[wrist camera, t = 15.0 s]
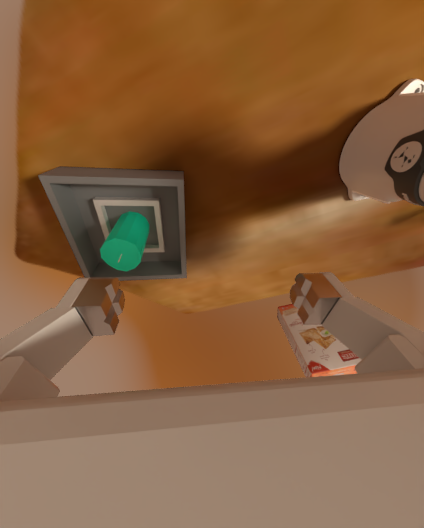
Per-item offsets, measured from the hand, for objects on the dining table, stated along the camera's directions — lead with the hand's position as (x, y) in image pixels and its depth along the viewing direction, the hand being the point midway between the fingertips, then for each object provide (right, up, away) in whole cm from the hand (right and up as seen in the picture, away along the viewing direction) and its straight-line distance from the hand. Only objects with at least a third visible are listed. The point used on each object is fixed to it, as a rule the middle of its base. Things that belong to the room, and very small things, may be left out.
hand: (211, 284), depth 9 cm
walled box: (-16, +9, +30) cm, 35 cm away
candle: (-15, +9, +29) cm, 34 cm away
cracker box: (+28, -13, +54) cm, 62 cm away
